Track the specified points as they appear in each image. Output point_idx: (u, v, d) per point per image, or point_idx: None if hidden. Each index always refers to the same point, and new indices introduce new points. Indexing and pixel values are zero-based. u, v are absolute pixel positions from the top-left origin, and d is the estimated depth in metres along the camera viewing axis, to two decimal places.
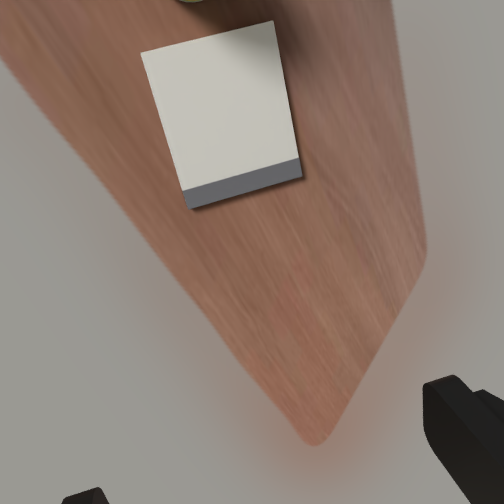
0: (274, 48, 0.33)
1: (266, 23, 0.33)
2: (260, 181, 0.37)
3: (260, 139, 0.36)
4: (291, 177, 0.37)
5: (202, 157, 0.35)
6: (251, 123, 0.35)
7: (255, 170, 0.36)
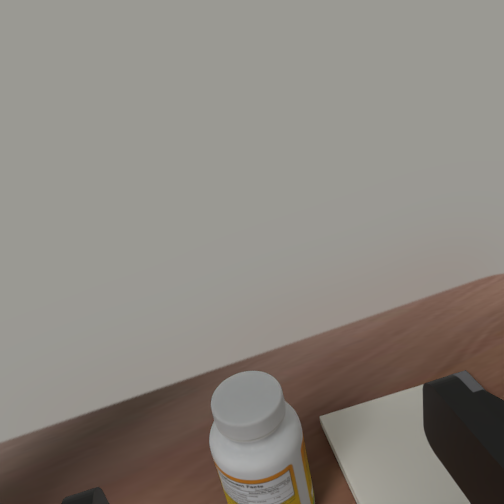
0: (344, 412, 0.33)
1: (323, 421, 0.33)
2: None
3: None
4: (471, 379, 0.33)
5: None
6: None
7: None
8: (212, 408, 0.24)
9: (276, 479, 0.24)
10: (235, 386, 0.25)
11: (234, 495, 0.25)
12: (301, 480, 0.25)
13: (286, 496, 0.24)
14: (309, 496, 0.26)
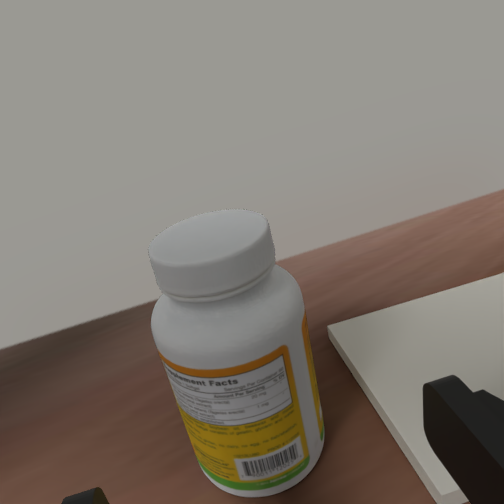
0: (362, 319, 0.23)
1: (332, 331, 0.23)
2: None
3: None
4: None
5: None
6: (486, 324, 0.21)
7: None
8: (149, 251, 0.14)
9: (260, 370, 0.14)
10: (192, 226, 0.15)
11: (191, 405, 0.15)
12: (303, 381, 0.15)
13: (278, 405, 0.14)
14: (316, 415, 0.16)
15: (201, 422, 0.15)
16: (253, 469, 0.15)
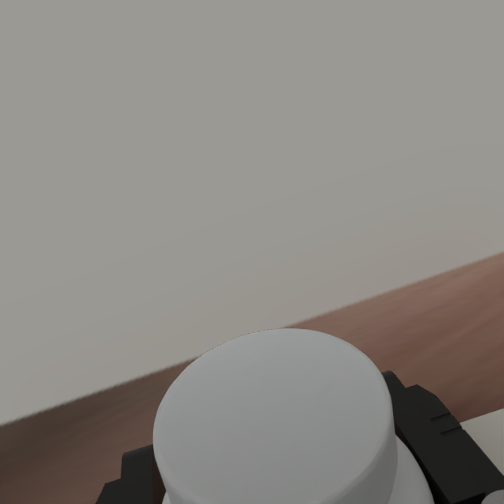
0: None
1: None
2: None
3: None
4: None
5: None
6: None
7: None
8: (156, 444, 0.07)
9: None
10: (233, 373, 0.08)
11: None
12: None
13: None
14: None
15: None
16: None
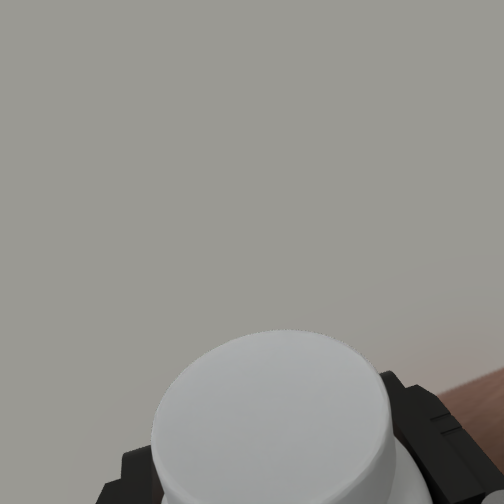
0: None
1: None
2: None
3: None
4: None
5: None
6: None
7: None
8: (154, 446, 0.07)
9: None
10: (232, 374, 0.08)
11: None
12: None
13: None
14: None
15: None
16: None
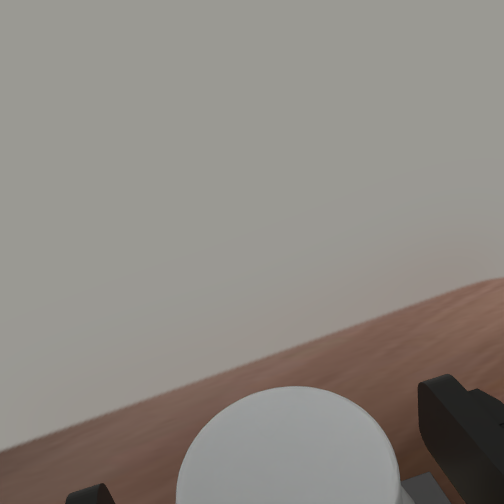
0: None
1: None
2: None
3: None
4: (440, 494, 0.17)
5: None
6: None
7: None
8: None
9: None
10: (249, 434, 0.09)
11: None
12: None
13: None
14: None
15: None
16: None
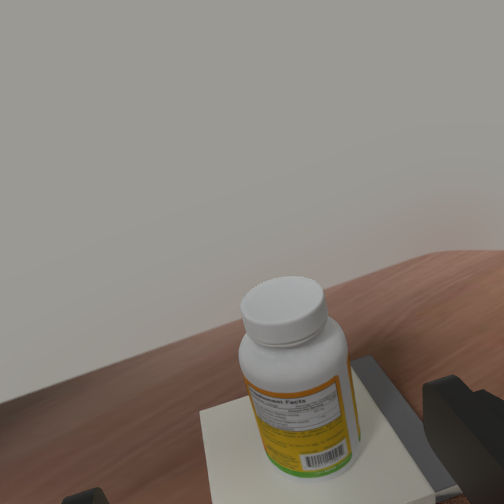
0: (227, 406, 0.29)
1: (201, 417, 0.28)
2: (389, 393, 0.27)
3: None
4: (375, 363, 0.29)
5: (371, 467, 0.23)
6: None
7: (375, 401, 0.26)
8: (242, 311, 0.20)
9: (320, 393, 0.20)
10: (268, 291, 0.21)
11: (270, 417, 0.21)
12: (348, 399, 0.21)
13: (332, 416, 0.21)
14: (356, 423, 0.23)
15: (277, 429, 0.21)
16: (313, 462, 0.22)
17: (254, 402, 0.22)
